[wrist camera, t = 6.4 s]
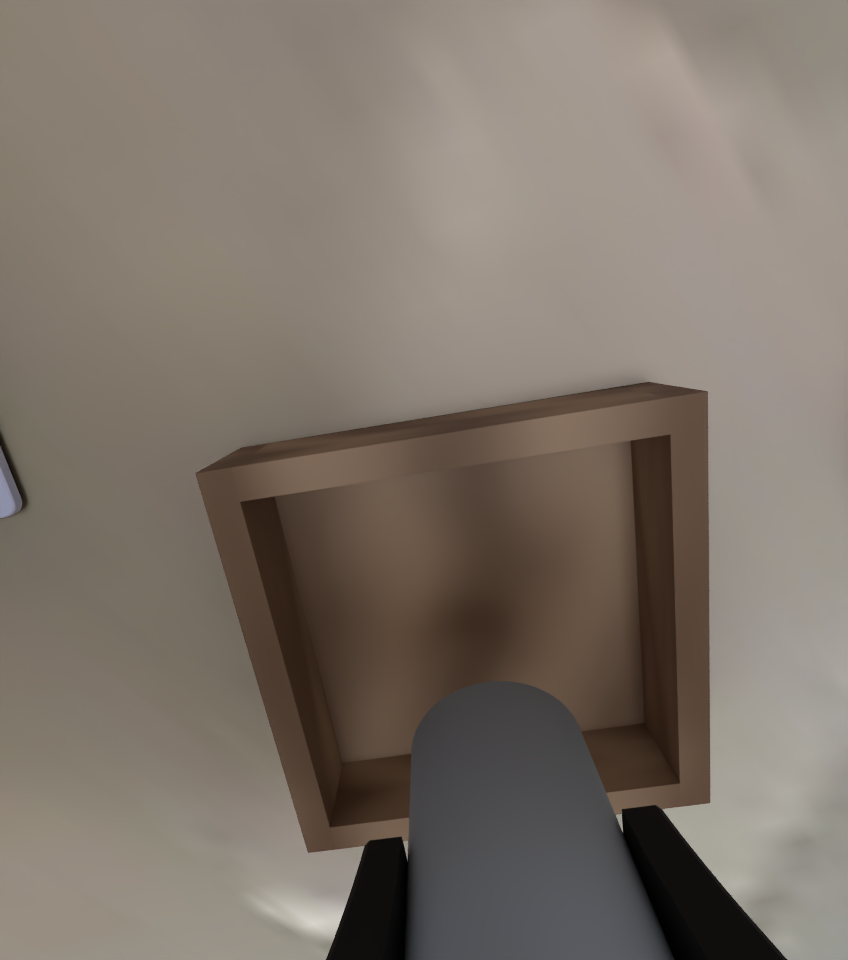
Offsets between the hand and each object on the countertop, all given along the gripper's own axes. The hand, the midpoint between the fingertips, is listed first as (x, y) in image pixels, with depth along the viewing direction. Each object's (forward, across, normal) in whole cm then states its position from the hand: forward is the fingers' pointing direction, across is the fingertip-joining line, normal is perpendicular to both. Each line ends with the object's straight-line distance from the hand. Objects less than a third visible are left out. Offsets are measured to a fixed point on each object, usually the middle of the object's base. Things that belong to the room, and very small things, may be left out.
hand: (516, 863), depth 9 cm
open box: (+10, 0, 0) cm, 10 cm away
